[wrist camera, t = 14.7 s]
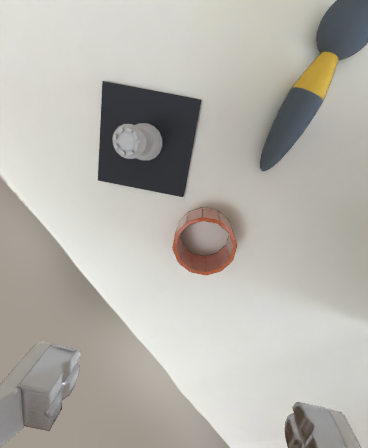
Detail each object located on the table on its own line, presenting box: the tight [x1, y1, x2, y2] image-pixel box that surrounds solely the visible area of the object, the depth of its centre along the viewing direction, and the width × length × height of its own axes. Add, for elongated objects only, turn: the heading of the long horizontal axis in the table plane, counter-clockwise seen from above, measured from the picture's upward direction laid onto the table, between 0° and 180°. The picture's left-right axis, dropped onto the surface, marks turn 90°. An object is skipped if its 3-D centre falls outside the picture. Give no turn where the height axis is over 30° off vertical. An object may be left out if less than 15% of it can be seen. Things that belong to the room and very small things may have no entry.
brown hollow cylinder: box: [173, 207, 237, 275], centre depth 31 cm, size 8×8×4 cm
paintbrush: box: [260, 0, 368, 171], centre depth 24 cm, size 20×5×5 cm, turn 161°
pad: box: [98, 81, 201, 197], centre depth 29 cm, size 12×12×1 cm
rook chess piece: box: [113, 123, 162, 160], centre depth 25 cm, size 4×4×8 cm
